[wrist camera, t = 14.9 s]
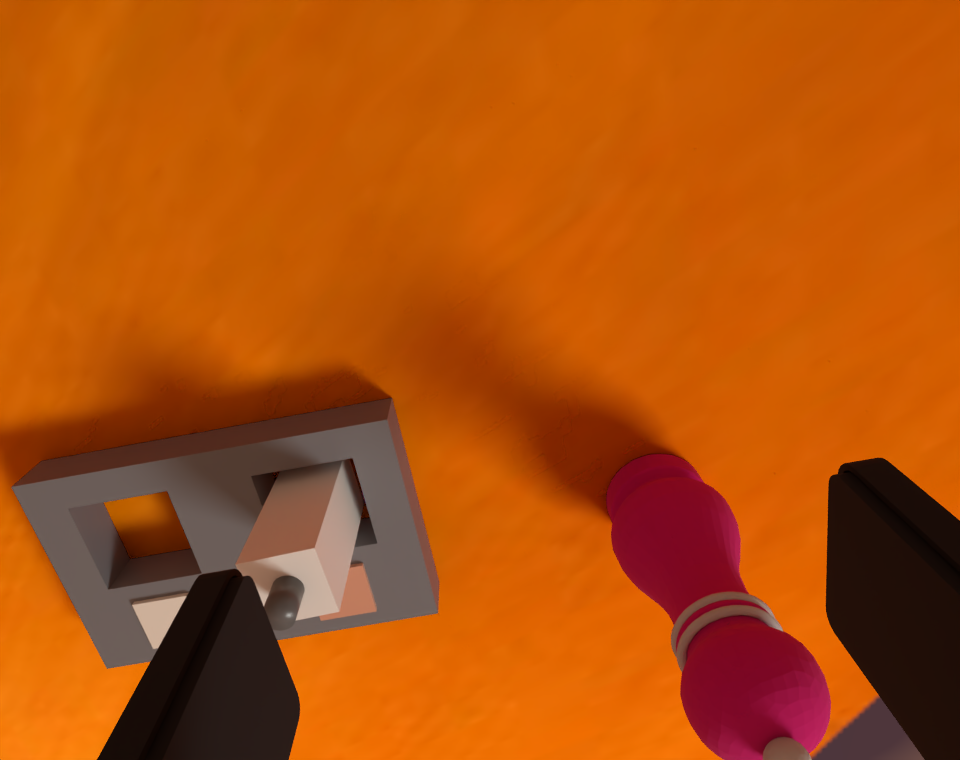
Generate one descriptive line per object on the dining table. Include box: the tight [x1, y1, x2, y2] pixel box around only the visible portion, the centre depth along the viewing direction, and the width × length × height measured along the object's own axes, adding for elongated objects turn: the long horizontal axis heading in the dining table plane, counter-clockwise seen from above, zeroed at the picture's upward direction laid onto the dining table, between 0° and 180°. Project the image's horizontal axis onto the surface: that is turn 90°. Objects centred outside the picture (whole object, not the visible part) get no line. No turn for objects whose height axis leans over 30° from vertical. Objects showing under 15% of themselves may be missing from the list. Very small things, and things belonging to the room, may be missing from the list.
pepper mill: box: [606, 454, 831, 760], centre depth 34 cm, size 7×7×20 cm
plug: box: [235, 459, 365, 631], centre depth 37 cm, size 4×4×12 cm
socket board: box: [12, 398, 439, 669], centre depth 42 cm, size 14×22×3 cm, turn 100°
